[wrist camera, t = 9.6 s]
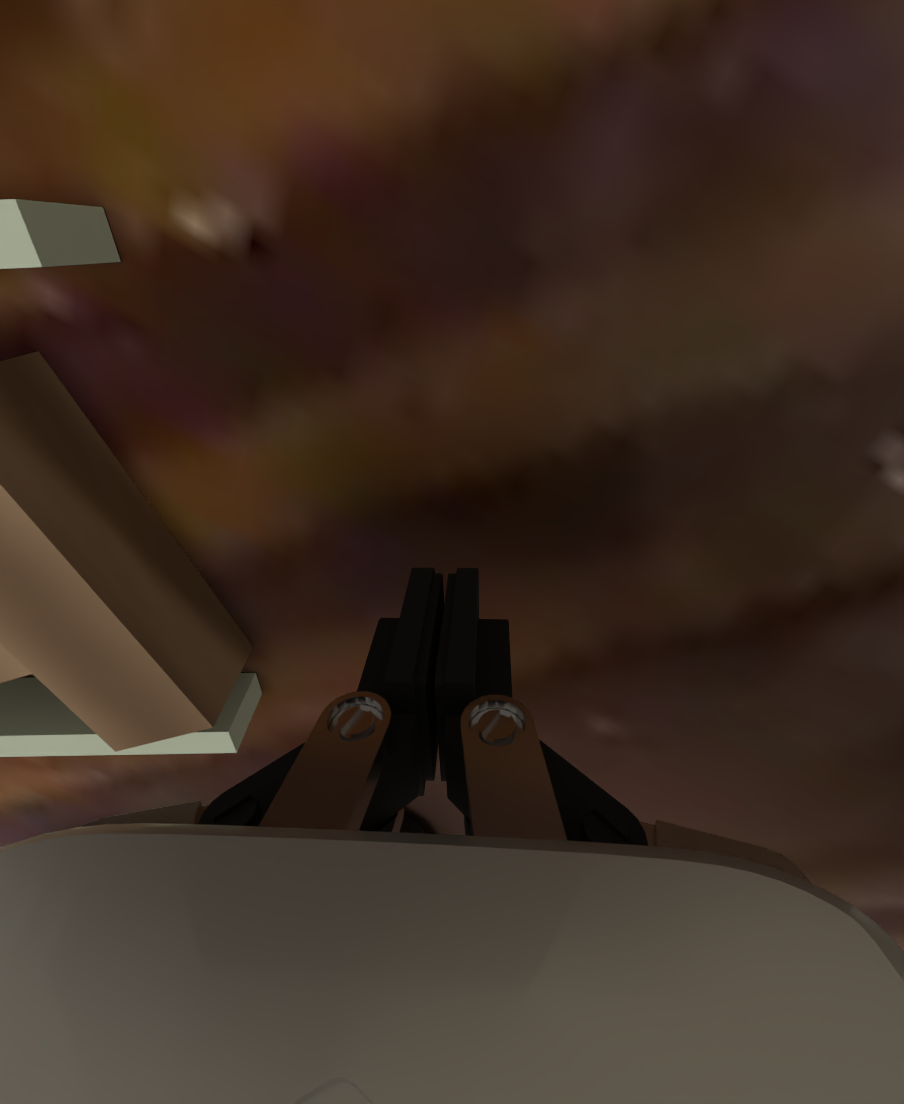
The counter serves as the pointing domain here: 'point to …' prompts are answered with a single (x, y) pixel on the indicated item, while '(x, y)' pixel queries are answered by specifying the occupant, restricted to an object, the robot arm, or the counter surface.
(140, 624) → the t block
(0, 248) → the frame
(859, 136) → the counter surface
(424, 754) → the robot arm
